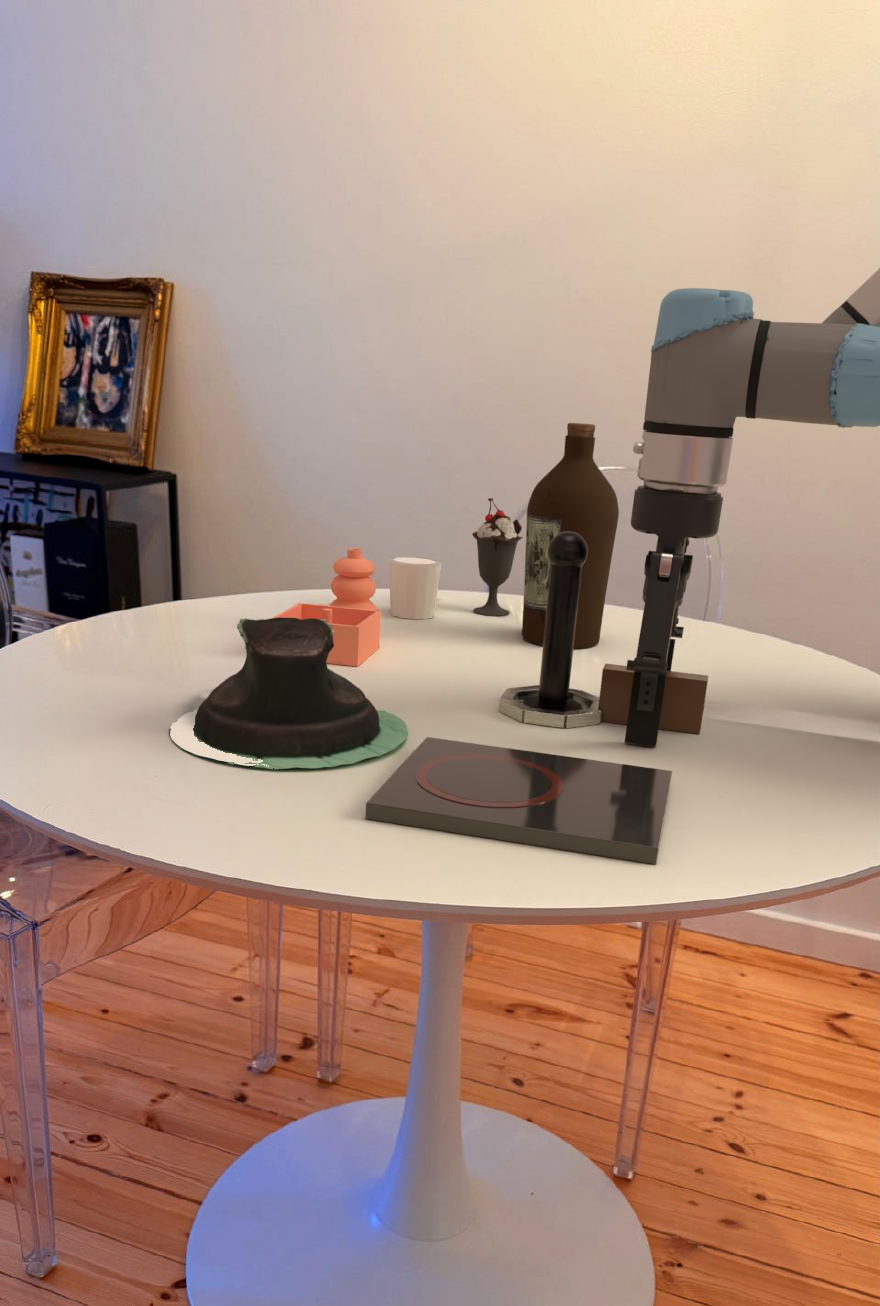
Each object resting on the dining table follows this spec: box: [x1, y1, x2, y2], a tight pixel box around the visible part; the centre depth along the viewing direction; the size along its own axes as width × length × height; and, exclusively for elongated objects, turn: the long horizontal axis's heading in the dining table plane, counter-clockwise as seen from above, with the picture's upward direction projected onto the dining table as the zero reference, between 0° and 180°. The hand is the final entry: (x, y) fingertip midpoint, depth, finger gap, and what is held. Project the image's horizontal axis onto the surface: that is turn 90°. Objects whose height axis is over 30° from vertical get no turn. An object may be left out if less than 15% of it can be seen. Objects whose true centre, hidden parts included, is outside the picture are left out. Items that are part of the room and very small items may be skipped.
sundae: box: [471, 497, 524, 617], centre depth 142 cm, size 7×7×15 cm
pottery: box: [272, 547, 382, 667], centre depth 121 cm, size 18×10×10 cm, turn 168°
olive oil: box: [521, 422, 620, 649], centre depth 127 cm, size 11×11×25 cm
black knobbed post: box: [522, 531, 588, 712], centre depth 100 cm, size 6×6×17 cm
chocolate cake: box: [193, 616, 409, 770], centre depth 91 cm, size 15×19×20 cm
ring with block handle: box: [497, 663, 709, 735], centre depth 101 cm, size 19×10×5 cm, turn 75°
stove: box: [365, 736, 673, 865], centre depth 80 cm, size 20×16×1 cm
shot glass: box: [388, 556, 443, 620], centre depth 139 cm, size 7×7×7 cm
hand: (646, 722), depth 101 cm, fingers open, 13 cm apart
